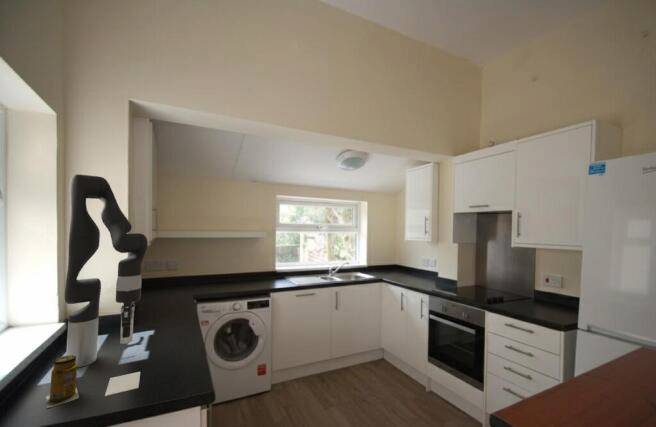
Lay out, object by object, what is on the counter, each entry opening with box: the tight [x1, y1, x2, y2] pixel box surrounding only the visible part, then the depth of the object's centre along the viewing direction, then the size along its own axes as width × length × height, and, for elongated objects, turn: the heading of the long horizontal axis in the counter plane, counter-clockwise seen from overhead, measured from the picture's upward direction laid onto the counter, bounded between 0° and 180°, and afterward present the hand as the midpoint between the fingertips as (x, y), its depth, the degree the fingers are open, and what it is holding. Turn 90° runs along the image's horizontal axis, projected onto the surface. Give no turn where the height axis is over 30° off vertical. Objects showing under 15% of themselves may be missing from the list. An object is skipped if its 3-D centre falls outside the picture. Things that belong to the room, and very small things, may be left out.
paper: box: [104, 371, 141, 397], centre depth 96 cm, size 12×9×1 cm
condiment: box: [45, 355, 80, 409], centre depth 88 cm, size 7×8×12 cm
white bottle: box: [119, 310, 135, 345], centre depth 101 cm, size 4×4×12 cm
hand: (126, 335), depth 100 cm, fingers closed on white bottle, 3 cm apart
